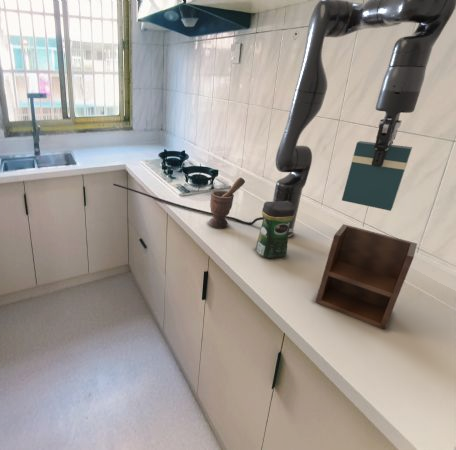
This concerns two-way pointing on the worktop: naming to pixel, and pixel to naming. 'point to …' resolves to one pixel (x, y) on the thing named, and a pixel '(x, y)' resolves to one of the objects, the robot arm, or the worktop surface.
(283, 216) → the coffee jar
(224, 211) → the mortar and pestle
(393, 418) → the worktop surface
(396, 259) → the bookshelf
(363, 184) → the book
